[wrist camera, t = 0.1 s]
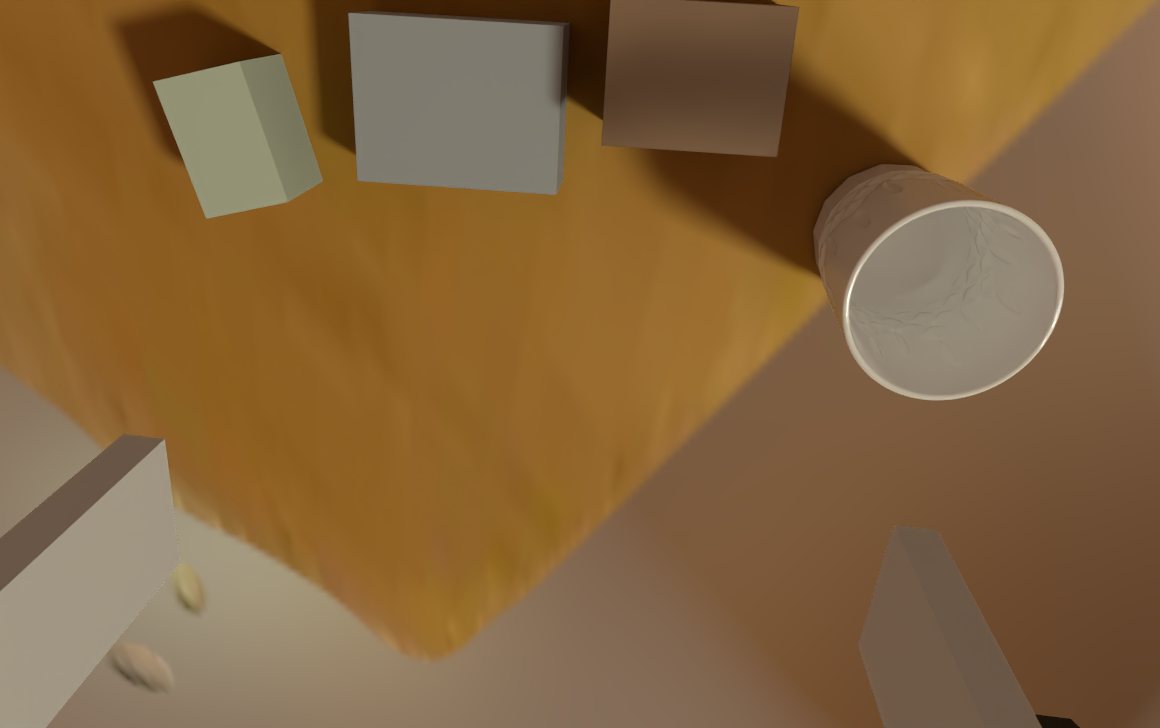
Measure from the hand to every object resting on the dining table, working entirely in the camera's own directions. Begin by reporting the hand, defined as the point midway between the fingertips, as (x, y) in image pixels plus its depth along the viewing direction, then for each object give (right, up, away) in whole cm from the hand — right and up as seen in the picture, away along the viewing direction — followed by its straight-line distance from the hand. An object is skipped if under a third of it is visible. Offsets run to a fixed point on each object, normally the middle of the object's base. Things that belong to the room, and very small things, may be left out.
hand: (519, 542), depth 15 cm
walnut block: (+6, +17, +23) cm, 29 cm away
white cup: (+16, +10, +25) cm, 31 cm away
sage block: (-14, +15, +25) cm, 32 cm away
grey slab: (-4, +16, +24) cm, 29 cm away
